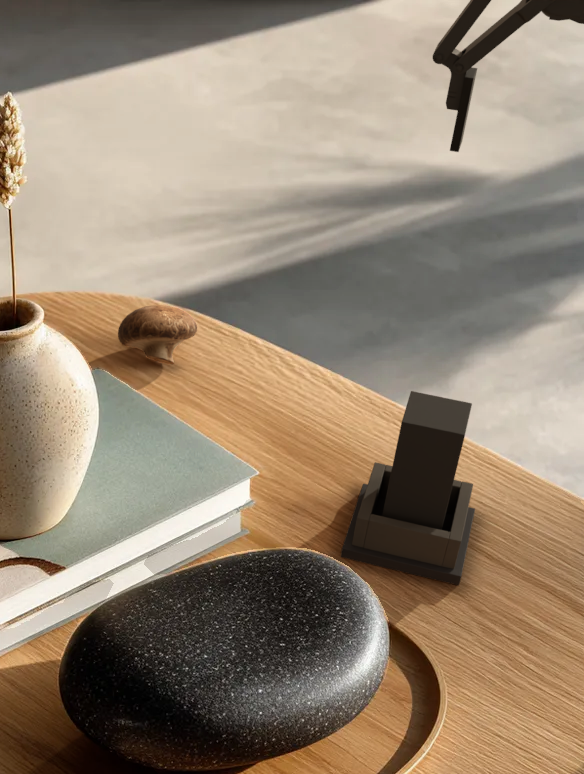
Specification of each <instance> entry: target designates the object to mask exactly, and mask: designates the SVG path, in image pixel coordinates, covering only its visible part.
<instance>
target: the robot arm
mask: <svg viewBox="0 0 584 774" xmlns="http://www.w3.org/2000/svg"><path fill="white" fill-rule="evenodd" d="M491 2H492V0H469V1H468V3H467V4H466V6H465V7H464V8H463V9H462V11H461V12H460V14H459V15H458V16H457V18H456V19H455V21H454V22H453V23H452V24H451V26H450V27H449V28H448V30H446V33H445V34H444V36H442V38H441V39H440V40H439V42H438V43H437V45H436V47H435V49H434V51H433V54H432V60H433V62H434V63H435V64H436V65H442V66H444V67H446V68H448V69H449V72H450V78H449V79H450V80H449V85H448V90H447V95H446V100H445V106H446V109H447V110H451V111H456V118H455V123H454V127H453V132H452V138H451V142H450V147H449V152H455V153H459V152H460V148H461V146H462V143H463V139H464V135H465V131H466V130H465V129H466V126H467V120H468V115H469V110H470V105H471V101H472V97H473V92H474V91H473V90H474V87H475V82H476V78H477V71H478V68H477V67H474V66H475V65H476V64H477V63H479V62H480V61H481V60H482V59H483V58H485V57H486V56H487V55H489V53H491V52H492V51H494V50H495V49H496V48H497V47H498V46H500V45H501V44H502V43H503V42H504V41H506V40H507V39H508V38H509V37H510V36H512V35H513V34H514V33H515V32H517V31H518V30H519V29H520V28H522V27H523V26H524V25H525V24H528V23H529V22H530V21H531V20H533V19H534V18H535V17H536V16H537V15H539V14H540V13H542V14H543V15H544V16H546V17H547V18H548V20H551V21H558V22H560V21H568V20H569V21H572V22H575V23H577V24H581V25H584V0H520V2H519V3H518V4H516V5H515V6H514V7H512V9H510V10H509V11H508V12H507V13H506V14H504V15H503V16H502V17H500V19H498V20H497V21H496V22H495V23H494V24H492V25H491V26H490V27H489V28H488V29H486V30H485V31H484V32H483V33H482V34H480V35H479V36H478V37H477V38H475V39H474V40H473V41H472V42H471V43H469V44H468V45H467V46H466V47H465V48H464V49H462V50H459V49H457V47H458V45H460V43H461V41H463V39H464V37H466V35H467V33H468V32H469V31H470V30H471V28H472V27H473V25H474V24H475V23H476V22H477V20H478V19H479V18H480V16H481V15H482V14H483V12H484V11H485V9H486V8H487V7H488V6H489V4H490V3H491Z"/></svg>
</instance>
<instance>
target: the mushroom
mask: <svg viewBox="0 0 584 774" xmlns="http://www.w3.org/2000/svg"><path fill="white" fill-rule="evenodd" d="M197 325H198V324H197V322H196V320H195V319H194V317H193V316H192V315H191V314H190V313H189V312H187V311H185V310H184V309H180V308H179V307H176V306H169V305H162V304H161V305H145V306H142V307H139V308H137V309H134V310H133V311H131V312H130V313H128V314H127V315H126V316H125V317H124V318H123V319H122V320H121V322H120V324H119V326H118V328H117V329H118V330H117V338H118V341H119V343H120V344H121V345H122V346H126V347H128V348H135V349H138V350H140V351H142V352H143V354H144V355H145V357H146V358H148V359H149V360H153V361H156V362H160V363H162V364H167V365H175V361H174V357H173V355H174V354H173V353H174V350H175V349H176V348H177V347H178V346H179V345H180V344H181V343H183V342H185V341H187V340H189V339H191V338H193V337H195V335H196V334H197V331H198V326H197Z"/></svg>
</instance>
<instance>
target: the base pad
mask: <svg viewBox="0 0 584 774" xmlns="http://www.w3.org/2000/svg"><path fill="white" fill-rule="evenodd" d="M392 466H393V465H389V464H385V463H381V462H374V464H373V467H372V470H371V472H370V475H369V479H368V482H367V483H362V485H361V488H360V491H359V495H358V498H357V501H356V503H355V504H356V505H355V507H354V510H353V513H352V516H351V519H350V522H349V526H348V529H347V532H346V535H345V537H344V541H343V544H342V547H341V552H340V558H343V559H347V560H350V561H355V562H359V563H364V564H367V565H371V566H372V565H373V566H375V567H376V566H377V567H380V568H384V569H388V570H393V571H397V572H401V573H404V574H409V575H414V576H418V577H422V578H427V579H430V580H435V581H439V582H443V583H446V584H451V585H455V586H459V585H460V583H461V580H462V575H463V571H464V566H465V560H466V555H467V551H468V547H469V543H470V536H471V532H472V527H473V521H474V518H475V514H476V513H475V512H476V508H474V507H471V506H470V501H471V497H472V492H473V489H474V483H472V482H467V481H461V480H457V479H454V482H453V486H452V490H451V494H450V498H449V502H448V506H447V510H446V514H445V518H444V523H443V527H442V530H439V529H435V528H430V527H426V526H422V525H417V524H413V523H409V522H404V521H400V520H396V519H391V518H387V517H383V516H382V514H383V509H384V504H385V500H386V495H387V490H388V485H389V481H390V476H391V471H392Z"/></svg>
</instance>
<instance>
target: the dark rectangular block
mask: <svg viewBox="0 0 584 774" xmlns="http://www.w3.org/2000/svg"><path fill="white" fill-rule="evenodd" d="M472 406H473V403H472V402H467V401H463V400H457V399H453V398H448V397H442V396H438V395H434V394H430V393H429V394H428V393H423V392H417V391H414V390H411V391H410V393H409V397H408V400H407V403H406V407H405V409H404V413H403V416H402V420H401V424H400V428H399V433H398V438H397V441H396V442H397V443H396V447H395V451H394V456H393V462H392V465H391V466H392V471H391V476H390V481H389V485H388V490H387V495H386V500H385V504H384V509H383V514H382V516H383V517H387V518H391V519H396V520H400V521H404V522H409V523H413V524H417V525H422V526H426V527H430V528H435V529H439V530H442V527H443V523H444V518H445V514H446V510H447V506H448V502H449V498H450V494H451V490H452V486H453V482H454V480H455V479H456V478H455V477H456V474H457V469H458V465H459V461H460V457H461V453H462V448H463V444H464V441H465V436H466V432H467V428H468V424H469V419H470V415H471V410H472Z"/></svg>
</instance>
